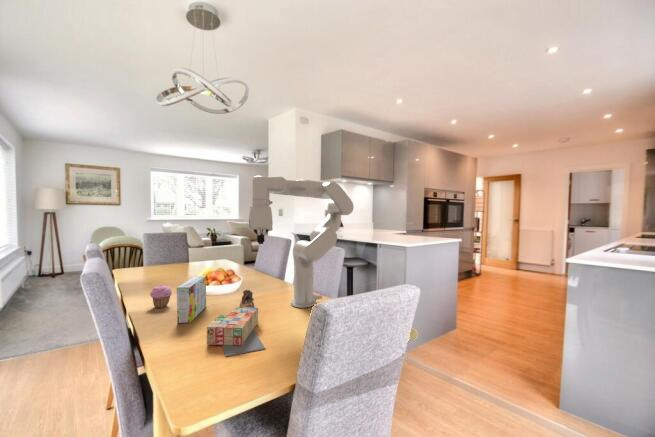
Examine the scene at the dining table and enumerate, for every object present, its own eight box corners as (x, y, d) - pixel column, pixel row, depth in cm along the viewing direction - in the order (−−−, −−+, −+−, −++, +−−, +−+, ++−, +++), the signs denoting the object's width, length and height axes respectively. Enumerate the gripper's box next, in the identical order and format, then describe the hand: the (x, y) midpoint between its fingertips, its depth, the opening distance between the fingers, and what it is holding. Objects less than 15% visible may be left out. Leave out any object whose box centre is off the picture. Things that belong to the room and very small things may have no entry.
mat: (249, 322, 124) (249, 321, 124) (265, 349, 100) (265, 348, 100) (216, 327, 118) (216, 326, 118) (225, 356, 95) (225, 355, 95)
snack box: (194, 307, 143) (194, 275, 143) (206, 307, 143) (206, 275, 143) (176, 323, 122) (176, 286, 121) (190, 323, 122) (190, 286, 122)
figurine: (258, 315, 132) (258, 288, 132) (248, 321, 125) (248, 292, 125) (245, 313, 135) (246, 286, 135) (234, 318, 128) (234, 290, 128)
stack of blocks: (258, 322, 123) (228, 321, 123) (258, 307, 123) (228, 306, 123) (241, 346, 101) (205, 345, 102) (241, 327, 101) (205, 326, 102)
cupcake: (146, 308, 141) (146, 286, 140) (162, 302, 149) (162, 282, 148) (159, 310, 137) (159, 288, 137) (175, 305, 145) (175, 284, 145)
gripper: (274, 203, 143) (274, 242, 144) (242, 203, 137) (242, 243, 137) (279, 203, 136) (279, 244, 137) (245, 202, 130) (245, 245, 130)
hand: (260, 243), depth 137 cm, fingers closed
